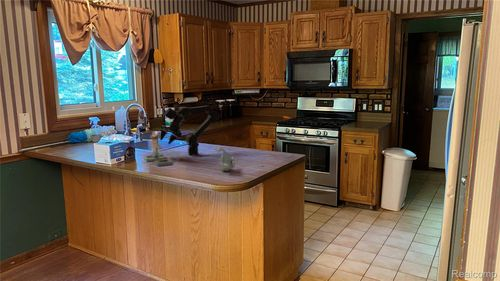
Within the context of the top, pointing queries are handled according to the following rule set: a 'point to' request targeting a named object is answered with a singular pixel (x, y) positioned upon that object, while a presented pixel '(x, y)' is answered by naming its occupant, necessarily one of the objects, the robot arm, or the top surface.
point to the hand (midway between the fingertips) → (164, 142)
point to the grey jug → (226, 160)
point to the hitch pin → (155, 146)
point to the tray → (150, 158)
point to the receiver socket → (163, 162)
